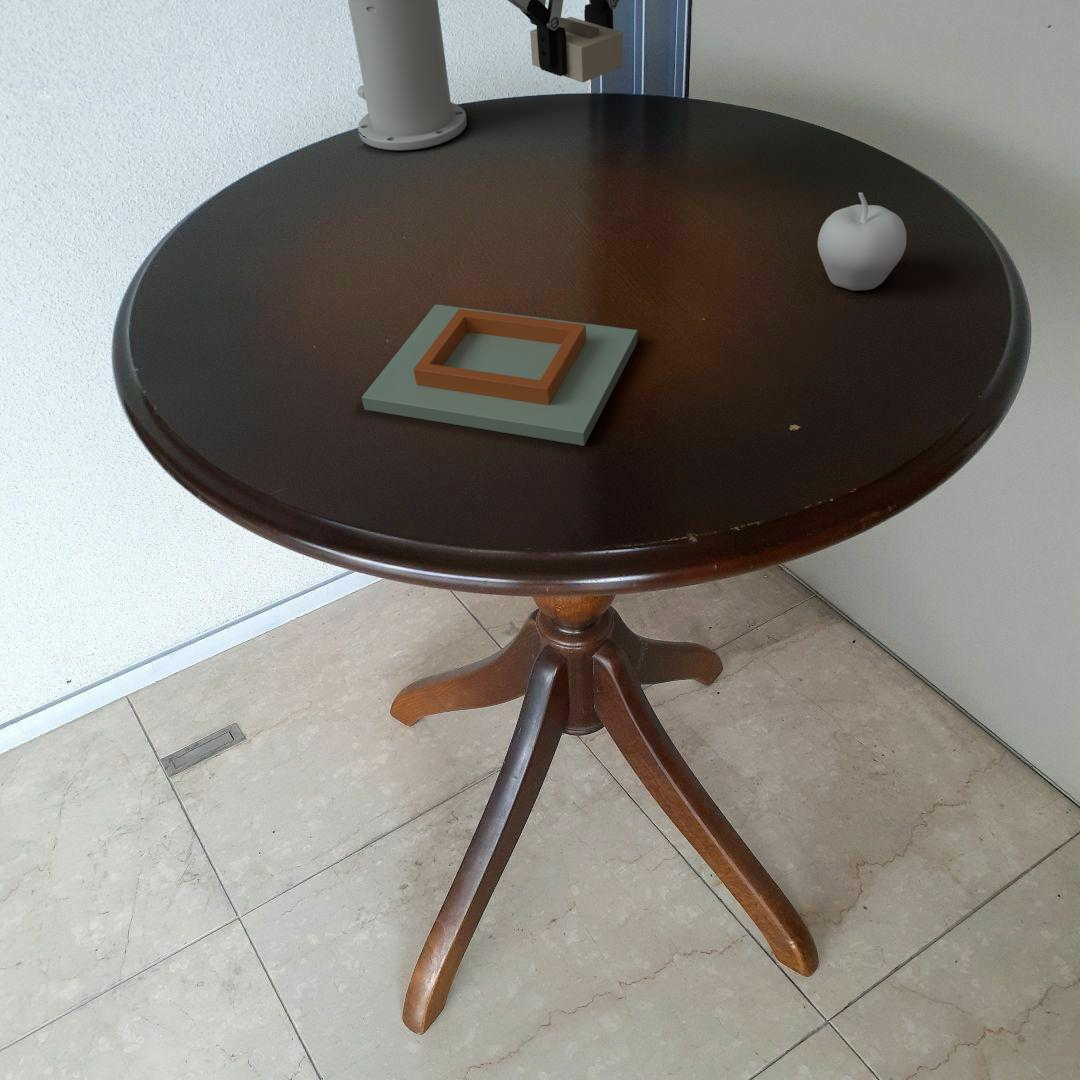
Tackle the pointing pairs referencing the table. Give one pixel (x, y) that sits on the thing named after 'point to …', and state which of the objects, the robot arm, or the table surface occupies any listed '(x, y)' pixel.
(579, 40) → the block
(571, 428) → the board
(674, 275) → the table surface
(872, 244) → the plain white apple
